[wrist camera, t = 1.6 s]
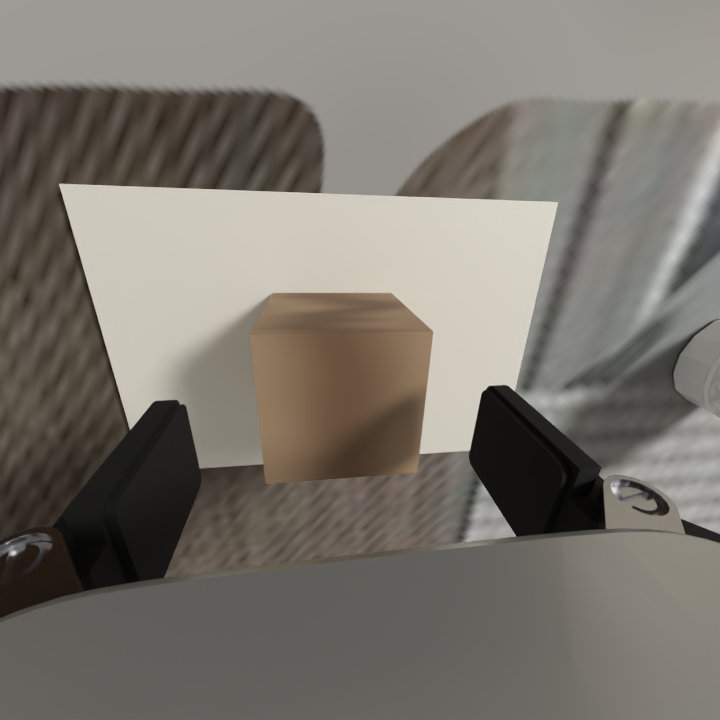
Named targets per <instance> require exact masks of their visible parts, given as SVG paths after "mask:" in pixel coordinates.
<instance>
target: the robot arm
mask: <svg viewBox="0 0 720 720" xmlns="http://www.w3.org/2000/svg"><path fill="white" fill-rule="evenodd" d="M469 460H470V463H471V466H472V467H473V469H474V470H475V472H476V474H477V475H478V477H479V478H480V480H481V481H482V483H483V484H484V486H485V488H486V489H487V491H488V492H489V494H490V495H491V497H492V499H493V500H494V502H495V503H496V505H497V506H498V508H499V510H500V511H501V513H502V514H503V516H504V517H505V519H506V521H507V522H508V524H509V525H510V527H511V528H512V530H513V531H514V533H515V535H516V536H517V537H509V538H500V539H491V540H481V541H472V542H463V543H453V544H444V545H435V546H426V547H417V548H408V549H400V550H391V551H382V552H373V553H364V554H356V555H347V556H338V557H329V558H321V559H312V560H304V561H296V562H287V563H279V564H270V565H262V566H254V567H245V568H237V569H228V570H220V571H212V572H205V573H197V574H190V575H182V576H175V577H168V578H164V576H165V574H166V571H167V569H168V566H169V564H170V561H171V559H172V556H173V554H174V551H175V549H176V546H177V543H178V541H179V538H180V536H181V533H182V531H183V528H184V526H185V523H186V521H187V518H188V516H189V513H190V511H191V508H192V506H193V503H194V501H195V498H196V496H197V493H198V491H199V488H200V485H201V472H200V468H199V463H198V458H197V454H196V449H195V445H194V440H193V435H192V431H191V426H190V422H189V417H188V412H187V408H186V406H185V405H184V404H180V403H179V401H177V400H162V401H154V402H153V403H152V404H151V406H150V407H149V408H148V409H147V410H146V412H145V413H144V414H143V415H142V417H141V418H140V419H139V420H138V421H137V423H136V424H135V425H134V426H133V428H132V429H131V430H130V431H129V432H128V434H127V435H126V436H125V437H124V439H123V440H122V441H121V442H120V443H119V445H118V446H117V447H116V448H115V450H114V451H113V452H112V453H111V454H110V456H109V457H108V458H107V459H106V461H105V462H104V463H103V464H102V465H101V467H100V468H99V469H98V470H97V472H96V473H95V474H94V475H93V476H92V478H91V479H90V480H89V481H88V483H87V484H86V485H85V486H84V487H83V489H82V490H81V491H80V492H79V494H78V495H77V496H76V497H75V498H74V500H73V501H72V502H71V503H70V505H69V506H68V507H67V508H66V509H65V511H64V512H63V513H62V516H61V517H60V518H59V519H58V520H57V522H56V523H55V524H54V525H53V527H50V526H49V527H35V528H31V529H26V530H23V531H20V532H18V533H15V534H13V535H10V536H8V537H6V538H4V539H2V540H0V720H720V534H718V533H715V532H713V531H710V530H708V529H705V528H702V527H700V526H697V525H695V524H692V523H690V522H687V521H685V520H682V519H681V518H680V515H679V512H678V509H677V508H676V506H675V504H674V503H673V502H672V501H671V499H670V498H669V497H668V496H667V495H665V494H664V493H662V492H661V491H660V490H658V489H657V488H655V487H653V486H651V485H650V484H648V483H646V482H643V481H641V480H638V479H636V478H632V477H628V476H623V475H612V476H608V477H607V478H606V479H604V480H603V479H602V478H601V477H600V476H599V475H598V474H599V472H600V470H601V467H600V466H599V465H598V464H597V463H596V462H595V461H593V460H592V459H591V458H590V457H589V456H588V455H587V454H585V453H584V452H583V451H582V450H581V449H580V448H579V447H577V446H576V445H575V444H574V443H573V442H572V441H571V440H570V439H568V438H567V437H566V436H565V435H564V434H563V433H562V432H560V431H559V430H558V429H557V428H556V427H555V426H554V425H552V424H551V423H550V422H549V421H548V420H547V419H546V418H544V417H543V416H542V415H541V414H540V413H539V412H538V411H536V410H535V409H534V408H533V407H532V406H531V405H530V404H528V403H527V402H526V401H525V400H524V399H523V398H522V397H520V396H519V395H518V394H517V393H516V392H515V391H514V390H512V389H511V388H510V387H509V386H507V385H495V386H488V387H487V389H486V390H484V391H483V392H482V394H481V399H480V404H479V409H478V414H477V419H476V423H475V428H474V433H473V438H472V443H471V448H470V453H469Z"/></svg>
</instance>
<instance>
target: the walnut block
mask: <svg viewBox="0 0 720 720" xmlns="http://www.w3.org/2000/svg"><path fill="white" fill-rule="evenodd" d="M249 337H250V346H251V355H252V364H253V373H254V382H255V391H256V401H257V410H258V419H259V428H260V437H261V446H262V455H263V464H264V473H265V483H266V484H268V483H282V482H296V481H309V480H323V479H336V478H350V477H363V476H377V475H390V474H404V473H417V470H418V461H419V453H420V444H421V435H422V426H423V418H424V409H425V400H426V392H427V383H428V374H429V365H430V357H431V348H432V339H433V331H432V330H431V329H430V328H429V327H428V326H427V325H426V324H425V323H424V322H422V321H421V320H420V319H419V318H418V317H417V316H416V315H415V314H414V313H413V312H412V311H410V310H409V309H408V308H407V307H406V306H405V305H404V304H403V303H402V302H401V301H400V300H398V299H397V298H396V297H395V296H394V295H393V294H392V293H272V295H271V297H270V299H269V300H268V302H267V304H266V306H265V308H264V309H263V311H262V313H261V315H260V317H259V318H258V320H257V322H256V324H255V325H254V327H253V329H252V331H251V333H250V334H249Z"/></svg>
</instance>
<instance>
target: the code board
mask: <svg viewBox="0 0 720 720" xmlns="http://www.w3.org/2000/svg"><path fill="white" fill-rule="evenodd" d="M59 186H60V189H61V193H62V196H63V199H64V203H65V206H66V210H67V213H68V217H69V220H70V224H71V227H72V231H73V234H74V238H75V241H76V244H77V248H78V251H79V255H80V258H81V262H82V265H83V269H84V272H85V276H86V279H87V283H88V286H89V289H90V293H91V296H92V300H93V303H94V307H95V310H96V314H97V317H98V321H99V324H100V328H101V331H102V334H103V338H104V341H105V345H106V348H107V352H108V355H109V359H110V362H111V366H112V369H113V373H114V376H115V379H116V383H117V386H118V390H119V393H120V397H121V400H122V404H123V407H124V411H125V414H126V418H127V421H128V424H129V428H130V430H131V429H132V428H133V426H134V425H135V424H136V423H137V421H138V420H139V419H140V418H141V417H142V415H143V414H144V413H145V412H146V410H147V409H148V408H149V407H150V406H151V404H152V403H153V402H154V401H162V400H177V401H179V403H180V404H184V405H185V406H186V408H187V412H188V417H189V422H190V426H191V431H192V435H193V440H194V445H195V449H196V454H197V458H198V463H199V468H215V467H230V466H245V465H260V464H263V455H262V446H261V437H260V428H259V419H258V410H257V401H256V391H255V382H254V373H253V364H252V355H251V346H250V337H249V334H250V333H251V331H252V329H253V327H254V325H255V324H256V322H257V320H258V318H259V317H260V315H261V313H262V311H263V309H264V308H265V306H266V304H267V302H268V300H269V299H270V297H271V295H272V293H392V294H393V295H394V296H395V297H396V298H397V299H398V300H400V301H401V302H402V303H403V304H404V305H405V306H406V307H407V308H408V309H409V310H410V311H412V312H413V313H414V314H415V315H416V316H417V317H418V318H419V319H420V320H421V321H422V322H424V323H425V324H426V325H427V326H428V327H429V328H430V329H431V330H432V331H433V339H432V348H431V357H430V365H429V374H428V383H427V392H426V400H425V409H424V418H423V426H422V435H421V444H420V453H419V454H426V453H441V452H456V451H470V448H471V443H472V438H473V433H474V428H475V423H476V419H477V414H478V409H479V404H480V399H481V394H482V392H483V391H484V390H486V389H487V387H488V386H495V385H507V386H509V387H510V388H511V389H512V390H514V391H515V388H516V383H517V379H518V375H519V370H520V366H521V362H522V357H523V353H524V349H525V344H526V340H527V336H528V331H529V327H530V323H531V318H532V314H533V310H534V305H535V301H536V297H537V292H538V288H539V284H540V279H541V275H542V271H543V266H544V262H545V257H546V253H547V249H548V244H549V240H550V236H551V231H552V227H553V223H554V218H555V214H556V210H557V205H558V202H536V201H509V200H482V199H455V198H428V197H401V196H373V195H347V194H346V195H345V194H320V193H293V192H266V191H239V190H212V189H185V188H158V187H131V186H104V185H77V184H59Z"/></svg>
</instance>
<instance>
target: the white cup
mask: <svg viewBox="0 0 720 720" xmlns="http://www.w3.org/2000/svg"><path fill="white" fill-rule="evenodd" d="M673 376H674V384H675V389H676V390H677V391H678V392H679V393H680V394H681V395H682V396H683V397H684V398H685V399H687V400H688V401H690V402H692V403H694V404H696V405H698V406H700V407H702V408H704V409H706V410H707V411H709V412H711V413H713V414H715V415H717V416H718V417H719V418H720V319H719V320H716V321H714V322H713V323H711V324H710V325H708V326H707V327H706V328H704V329H703V330H701V331H700V332H699V333H697V334H696V335H695V336H694V337H693V338H692V339H691V341H690V342H689V343H688V344H687V346H686V347H685V348H684V350H683V351H682V352H681V353H680V355H679V358H678V361H677V363H676V366H675V369H674V372H673Z"/></svg>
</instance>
